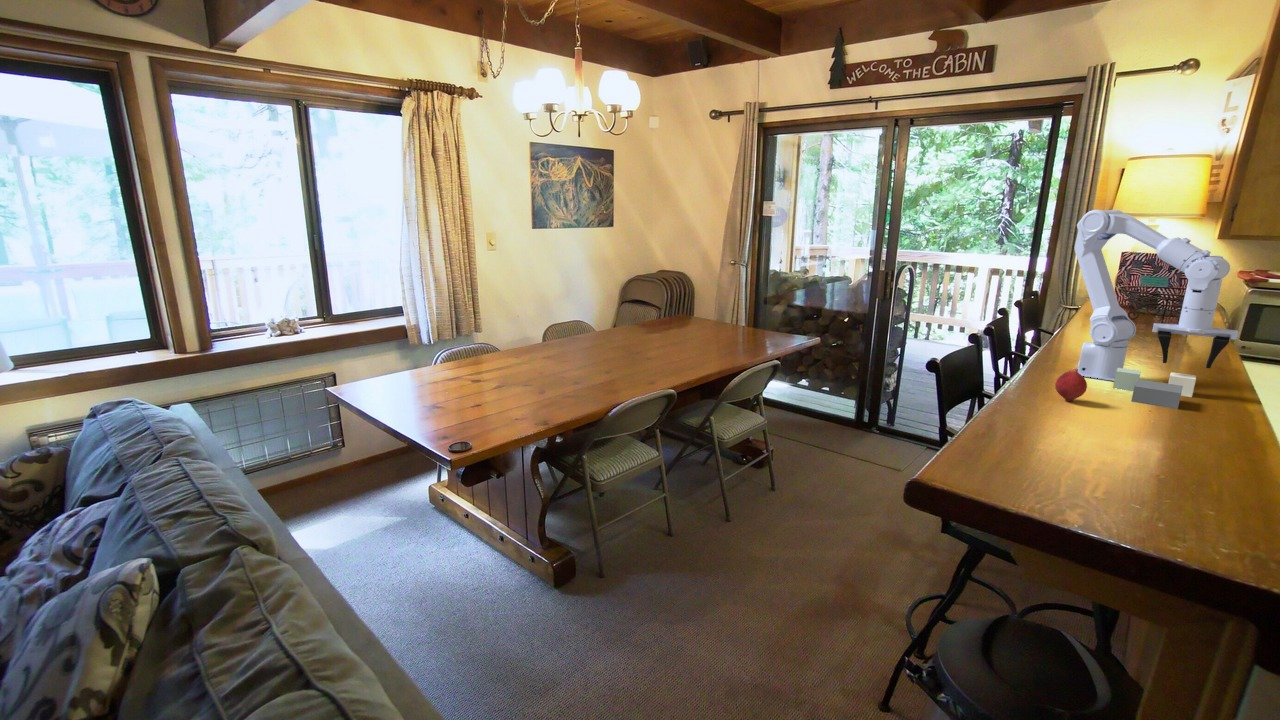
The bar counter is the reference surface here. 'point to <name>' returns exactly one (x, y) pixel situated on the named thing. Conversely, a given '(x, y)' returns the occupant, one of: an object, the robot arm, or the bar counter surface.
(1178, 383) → the cream block
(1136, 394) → the base block
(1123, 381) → the sage block
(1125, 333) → the robot arm
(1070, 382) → the onion
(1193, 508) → the bar counter surface
